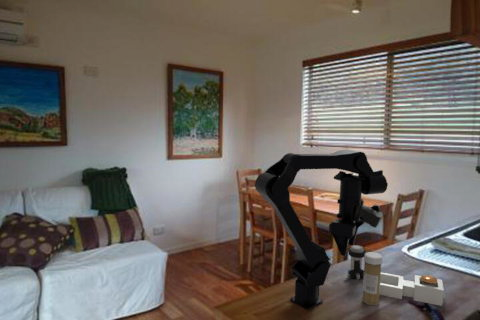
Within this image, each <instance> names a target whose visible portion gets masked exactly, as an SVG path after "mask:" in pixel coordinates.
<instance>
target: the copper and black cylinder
mask: <svg viewBox="0 0 480 320" xmlns="http://www.w3.org/2000/svg"><path fill="white" fill-rule="evenodd" d="M420 276H421V284H423V285H428V286H433V287H436V283H437V279H438V278H436V277H435V276H433V275H427V274H423V275H420Z"/></svg>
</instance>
